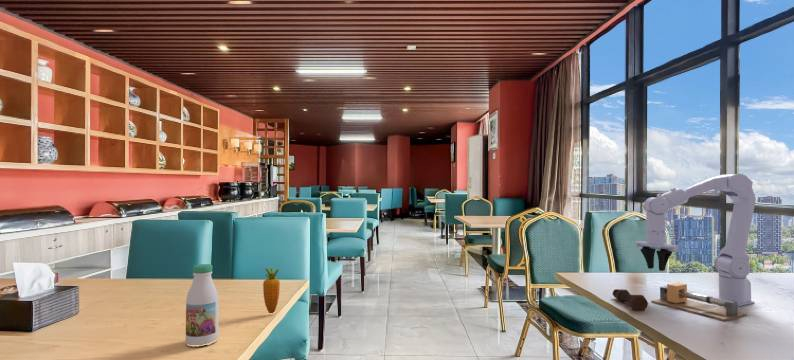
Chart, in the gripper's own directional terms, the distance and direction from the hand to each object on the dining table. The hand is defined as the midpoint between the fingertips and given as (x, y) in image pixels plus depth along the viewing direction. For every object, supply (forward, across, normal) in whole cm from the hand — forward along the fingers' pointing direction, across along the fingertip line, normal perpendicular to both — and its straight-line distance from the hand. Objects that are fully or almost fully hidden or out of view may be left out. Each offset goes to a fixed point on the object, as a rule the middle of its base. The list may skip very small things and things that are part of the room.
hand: (656, 269), depth 146 cm
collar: (+9, +7, 0) cm, 12 cm away
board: (+10, +13, 0) cm, 17 cm away
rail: (+10, +13, 0) cm, 17 cm away
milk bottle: (+11, -25, -146) cm, 149 cm away
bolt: (+11, 0, -15) cm, 19 cm away
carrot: (+11, -41, -126) cm, 133 cm away
